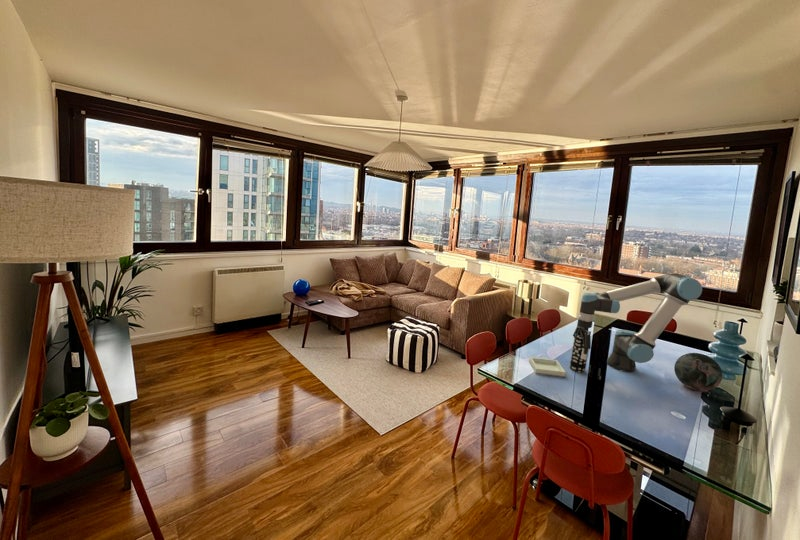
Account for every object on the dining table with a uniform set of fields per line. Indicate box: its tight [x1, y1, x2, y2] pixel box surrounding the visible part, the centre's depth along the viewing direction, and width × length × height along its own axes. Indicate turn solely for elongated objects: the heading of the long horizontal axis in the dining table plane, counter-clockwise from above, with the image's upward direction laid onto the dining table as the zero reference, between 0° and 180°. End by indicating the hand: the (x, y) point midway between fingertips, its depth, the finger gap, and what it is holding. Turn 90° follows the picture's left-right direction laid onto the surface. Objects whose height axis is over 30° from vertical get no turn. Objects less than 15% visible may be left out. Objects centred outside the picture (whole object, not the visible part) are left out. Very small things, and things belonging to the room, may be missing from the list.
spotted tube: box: [568, 334, 590, 373], centre depth 205 cm, size 8×8×20 cm
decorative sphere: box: [673, 352, 723, 392], centre depth 191 cm, size 20×20×20 cm
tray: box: [528, 356, 567, 378], centre depth 203 cm, size 16×16×3 cm
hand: (579, 354), depth 205 cm, fingers open, 13 cm apart
